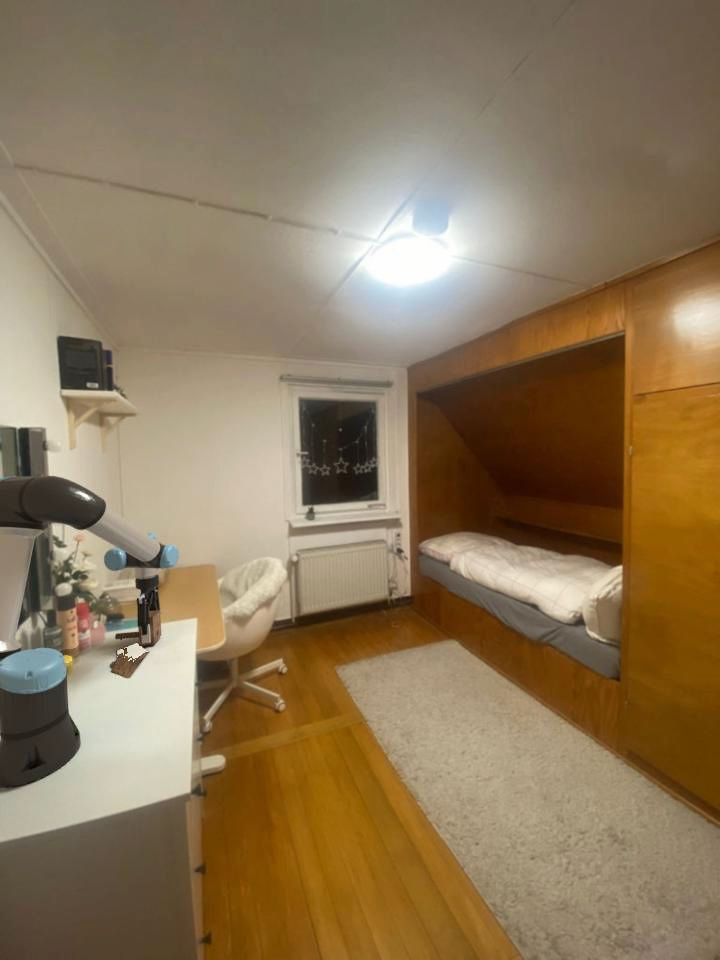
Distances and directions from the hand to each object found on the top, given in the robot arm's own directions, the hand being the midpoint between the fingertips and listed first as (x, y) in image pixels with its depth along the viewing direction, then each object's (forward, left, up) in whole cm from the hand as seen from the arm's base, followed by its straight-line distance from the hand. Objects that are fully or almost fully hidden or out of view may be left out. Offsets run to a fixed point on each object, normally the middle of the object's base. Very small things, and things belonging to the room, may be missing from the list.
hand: (150, 637), depth 141 cm
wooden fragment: (-12, -2, -2) cm, 12 cm away
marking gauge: (-2, +4, -1) cm, 5 cm away
